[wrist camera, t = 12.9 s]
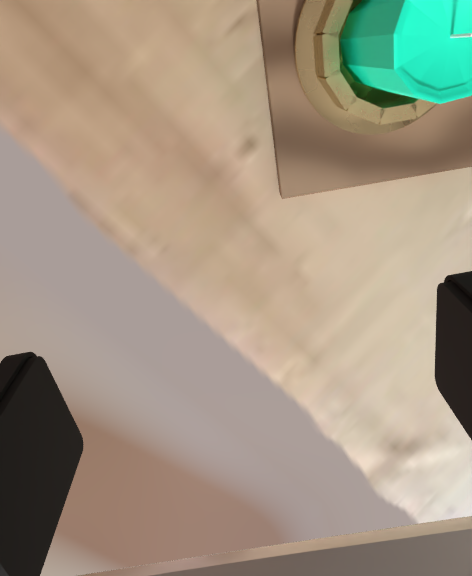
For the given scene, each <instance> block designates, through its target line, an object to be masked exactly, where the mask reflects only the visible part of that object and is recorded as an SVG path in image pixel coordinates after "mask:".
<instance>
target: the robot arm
mask: <svg viewBox="0 0 472 576" xmlns="http://www.w3.org/2000/svg"><path fill="white" fill-rule="evenodd" d="M435 380H436V384H437V387H438V389H439V391H440V393H441V394H442V396H443V397H444V399H445V400H446V402H447V403H448V405H449V406H450V408H451V410H452V411H453V413H454V414H455V416H456V417H457V419H458V420H459V422H460V423H461V425H462V426H463V428H464V429H465V431H466V432H467V434H468V435H469V437H470V438H471V440H472V271H470V272H464V273H459V274H453V275H448V276H447V277H446V278H445V280H444V283H440V284H439V285H438V287H437V313H436V350H435ZM82 451H83V438H82V435H81V433H80V431H79V429H78V427H77V425H76V423H75V421H74V419H73V417H72V415H71V413H70V411H69V409H68V407H67V405H66V403H65V401H64V398H63V397H62V394H61V393H60V390H59V388H58V386H57V384H56V382H55V380H54V378H53V376H52V374H51V372H50V370H49V368H48V366H47V364H46V362H45V360H44V359H43V358H42V357H40V356H38V357H37V356H36V355H35V354H34V353H33V352H27V353H21V354H16V355H11V356H6V357H5V358H4V359H3V360H2V361H1V363H0V576H40V574H41V570H42V568H43V565H44V562H45V559H46V556H47V553H48V550H49V547H50V545H51V542H52V539H53V536H54V533H55V530H56V527H57V524H58V521H59V518H60V516H61V513H62V510H63V507H64V504H65V501H66V498H67V495H68V492H69V489H70V486H71V483H72V481H73V478H74V475H75V471H76V469H77V466H78V463H79V460H80V457H81V454H82ZM78 576H472V516H470V517H462V518H455V519H448V520H441V521H435V522H428V523H421V524H414V525H407V526H401V527H394V528H387V529H380V530H373V531H367V532H359V533H353V534H346V535H339V536H332V537H326V538H319V539H312V540H306V541H299V542H292V543H286V544H279V545H272V546H266V547H259V548H253V549H246V550H239V551H233V552H226V553H220V554H213V555H207V556H200V557H193V558H187V559H180V560H174V561H167V562H161V563H154V564H148V565H141V566H135V567H129V568H123V569H116V570H111V571H104V572H97V573H91V574H85V575H78Z"/></svg>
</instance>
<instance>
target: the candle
mask: <svg viewBox="0 0 472 576" xmlns="http://www.w3.org/2000/svg"><path fill="white" fill-rule="evenodd" d="M340 44H341V52H342V61H343V65H344V67H345V68H346V69H347V71H348V72H349V73H350V75H351V76H352V77H353V79H354V80H355V81H356V82H357V83H360V84H363V85H366V86H369V87H372V88H375V89H379V90H383V91H387V92H392V93H396V94H400V95H404V96H409V97H413V98H417V99H421V100H425V101H430V102H434V103H438V104H442V103H446V102H450V101H453V100H457V99H461V98H465V97H469V96H471V95H472V0H362V1H361V2H360V3H359V4H358V5H357V6H356V7H355V8H354V9H353V10H352V11H351V12H350V13H349V15H348V18H347V21H346V24H345V27H344V30H343V33H342V35H341V38H340Z"/></svg>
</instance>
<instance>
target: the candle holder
mask: <svg viewBox="0 0 472 576" xmlns="http://www.w3.org/2000/svg"><path fill="white" fill-rule="evenodd" d="M361 1H362V0H305V1H304V3H303V5H302V8H301V11H300V14H299V17H298V20H297V25H296V30H295V38H294V61H295V68H296V73H297V76H298V80H299V83H300V85H301V88H302V90H303V93H304V94H305V96H306V98H307V99H308V101H309V103H310V104H311V105H312V106H313V108H314V109H315V110H316V111H317V112H318V113H319V114H320V115H321V116H322V117H323V118H325V119H326V120H328V121H329V122H331V123H332V124H334V125H335V126H337V127H339V128H341V129H344V130H347V131H350V132H353V133H358V134H370V135H374V134H383V133H388V132H392V131H395V130H398V129H401V128H403V127H405V126H407V125H409V124H411V123H413V122H415V121H416V120H418V119H419V118H421V117H422V116H424V115H425V114H426V113H427V112H429V111H430V110H431V109H432V108H433V107H434V106H435V105H436V104H437V103H434V102H430V101H425V100H421V99H417V98H413V97H409V96H404V95H400V94H396V93H392V92H387V91H383V90H379V89H375V88H372V87H369V86H366V85H363V84H360V83H357V82H356V81H355V80H354V79H353V77H352V76H351V75H350V73H349V72H348V71H347V69H346V68H345V67H344V65H343V61H342V52H341V44H340V38H341V35H342V33H343V30H344V27H345V24H346V21H347V18H348V15H349V13H350V12H351V11H352V10H353V9H354V8H355V7H356V6H357V5H358V4H359V3H360V2H361Z"/></svg>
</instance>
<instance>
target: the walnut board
mask: <svg viewBox="0 0 472 576" xmlns="http://www.w3.org/2000/svg"><path fill="white" fill-rule="evenodd" d="M304 1H305V0H257V5H258V14H259V22H260V31H261V39H262V47H263V56H264V64H265V72H266V81H267V89H268V97H269V106H270V114H271V123H272V131H273V139H274V148H275V156H276V164H277V173H278V181H279V189H280V195H281V197H282V199H285V198H290V197H296V196H302V195H308V194H314V193H320V192H326V191H331V190H337V189H343V188H349V187H355V186H361V185H367V184H372V183H378V182H384V181H390V180H396V179H402V178H408V177H414V176H419V175H425V174H431V173H437V172H443V171H449V170H455V169H460V168H466V167H472V95H471V96H469V97H465V98H461V99H457V100H453V101H450V102H446V103H442V104H438V103H437V104H436V105H435V106H434V107H433V108H432V109H431V110H430V111H429V112H427V113H426V114H425V115H424V116H422V117H421V118H419V119H418V120H416V121H415V122H413V123H411V124H409V125H407V126H405V127H403V128H401V129H398V130H395V131H392V132H388V133H383V134H374V135H370V134H358V133H353V132H350V131H347V130H344V129H341V128H339V127H337V126H335V125H334V124H332V123H331V122H329V121H328V120H326V119H325V118H323V117H322V116H321V115H320V114H319V113H318V112H317V111H316V110H315V109H314V108H313V106H312V105H311V104H310V103H309V101H308V99H307V98H306V96H305V94H304V93H303V90H302V88H301V85H300V83H299V80H298V76H297V73H296V68H295V61H294V38H295V30H296V25H297V20H298V17H299V14H300V11H301V8H302V5H303V3H304Z"/></svg>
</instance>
